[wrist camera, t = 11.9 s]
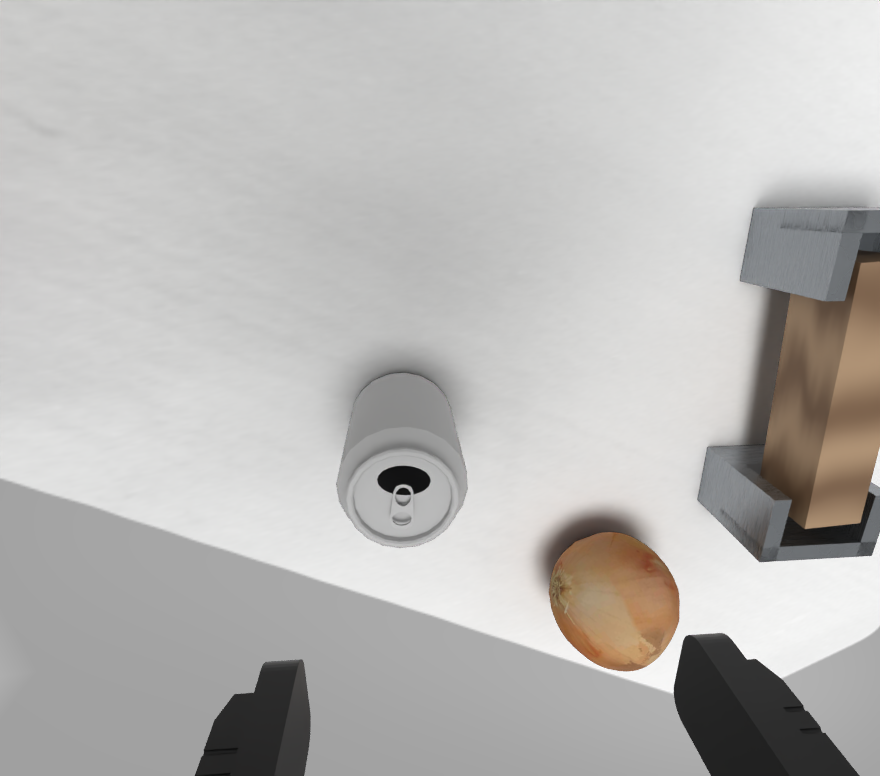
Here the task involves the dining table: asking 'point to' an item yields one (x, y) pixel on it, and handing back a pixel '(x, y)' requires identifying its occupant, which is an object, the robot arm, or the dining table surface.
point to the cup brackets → (738, 467)
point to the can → (402, 462)
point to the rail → (828, 402)
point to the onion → (614, 601)
